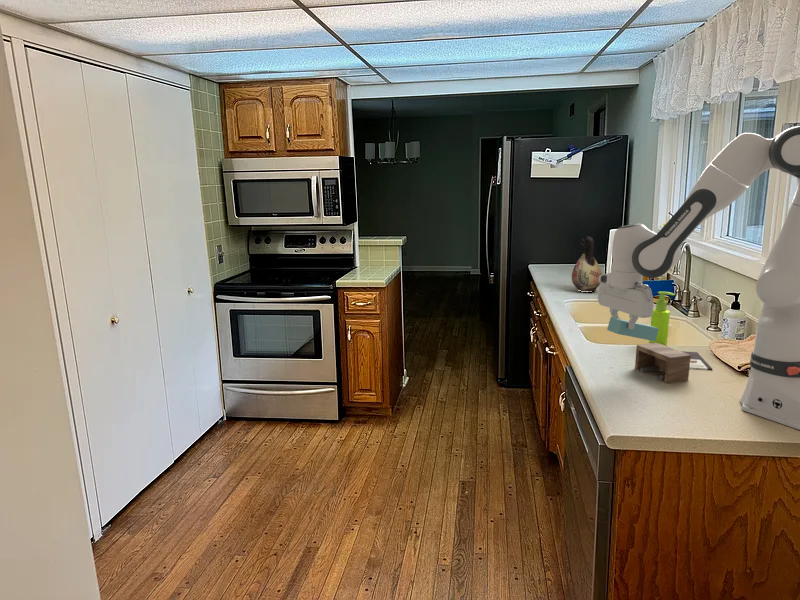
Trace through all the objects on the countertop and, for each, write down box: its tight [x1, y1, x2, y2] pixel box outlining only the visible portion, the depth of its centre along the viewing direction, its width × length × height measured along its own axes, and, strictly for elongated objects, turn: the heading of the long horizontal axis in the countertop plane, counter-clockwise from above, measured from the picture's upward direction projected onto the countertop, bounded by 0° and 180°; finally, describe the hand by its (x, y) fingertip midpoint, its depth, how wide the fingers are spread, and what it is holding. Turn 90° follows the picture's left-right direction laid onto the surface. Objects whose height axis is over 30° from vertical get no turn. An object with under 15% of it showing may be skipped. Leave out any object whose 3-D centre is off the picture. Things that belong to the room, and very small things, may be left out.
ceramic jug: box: [571, 236, 603, 292], centre depth 302 cm, size 17×15×30 cm
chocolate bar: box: [680, 350, 713, 371], centre depth 191 cm, size 9×1×18 cm
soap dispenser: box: [648, 291, 676, 347], centre depth 205 cm, size 6×7×20 cm
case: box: [606, 316, 659, 341], centre depth 170 cm, size 14×5×4 cm, turn 108°
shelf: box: [634, 342, 691, 384], centre depth 176 cm, size 14×8×8 cm, turn 18°
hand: (622, 326), depth 169 cm, fingers closed on case, 5 cm apart
